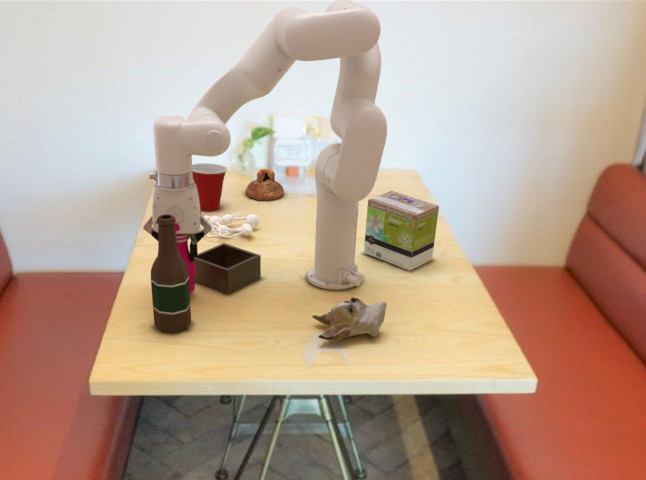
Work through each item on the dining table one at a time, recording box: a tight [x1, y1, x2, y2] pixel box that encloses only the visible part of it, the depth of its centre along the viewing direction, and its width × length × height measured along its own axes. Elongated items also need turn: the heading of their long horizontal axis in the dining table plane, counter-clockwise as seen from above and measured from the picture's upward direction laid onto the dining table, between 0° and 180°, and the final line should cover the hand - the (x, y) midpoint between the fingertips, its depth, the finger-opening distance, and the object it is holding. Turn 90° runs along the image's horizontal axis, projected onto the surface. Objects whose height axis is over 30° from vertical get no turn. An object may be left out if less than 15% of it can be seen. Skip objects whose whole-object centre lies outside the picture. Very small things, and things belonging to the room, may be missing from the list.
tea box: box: [363, 190, 440, 272], centre depth 200 cm, size 15×10×15 cm
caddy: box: [193, 242, 262, 295], centre depth 189 cm, size 12×12×6 cm
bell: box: [245, 168, 285, 201], centre depth 240 cm, size 12×12×7 cm
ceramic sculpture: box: [312, 297, 388, 342], centre depth 167 cm, size 11×9×15 cm
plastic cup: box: [192, 162, 228, 212], centre depth 228 cm, size 11×11×12 cm
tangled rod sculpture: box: [199, 211, 261, 239], centre depth 215 cm, size 19×14×4 cm
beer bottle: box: [150, 214, 192, 334], centre depth 164 cm, size 8×8×24 cm
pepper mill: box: [175, 222, 196, 294], centre depth 177 cm, size 7×7×20 cm
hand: (179, 258), depth 178 cm, fingers closed on pepper mill, 5 cm apart
